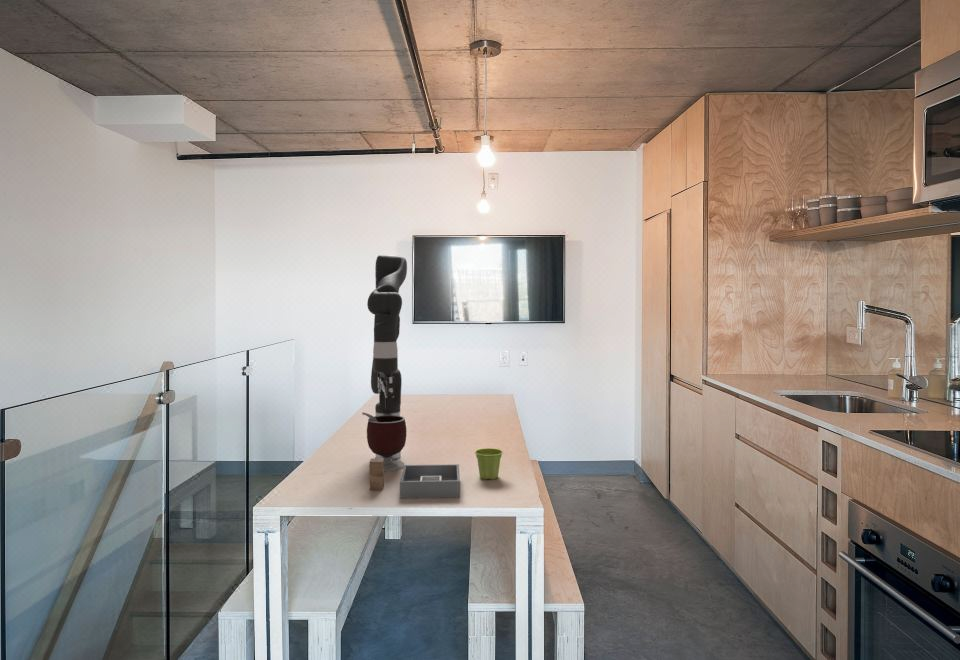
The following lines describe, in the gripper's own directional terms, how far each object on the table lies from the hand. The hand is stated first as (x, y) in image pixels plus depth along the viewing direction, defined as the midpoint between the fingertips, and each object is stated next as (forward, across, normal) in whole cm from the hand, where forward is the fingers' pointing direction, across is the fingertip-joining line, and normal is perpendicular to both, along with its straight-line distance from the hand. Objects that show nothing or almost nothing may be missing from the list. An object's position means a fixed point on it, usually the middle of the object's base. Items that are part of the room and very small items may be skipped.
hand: (386, 407), depth 194 cm
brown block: (+26, +1, +3) cm, 26 cm away
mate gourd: (+25, +24, -5) cm, 35 cm away
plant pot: (+26, -1, -34) cm, 43 cm away
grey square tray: (+26, -5, -13) cm, 29 cm away
